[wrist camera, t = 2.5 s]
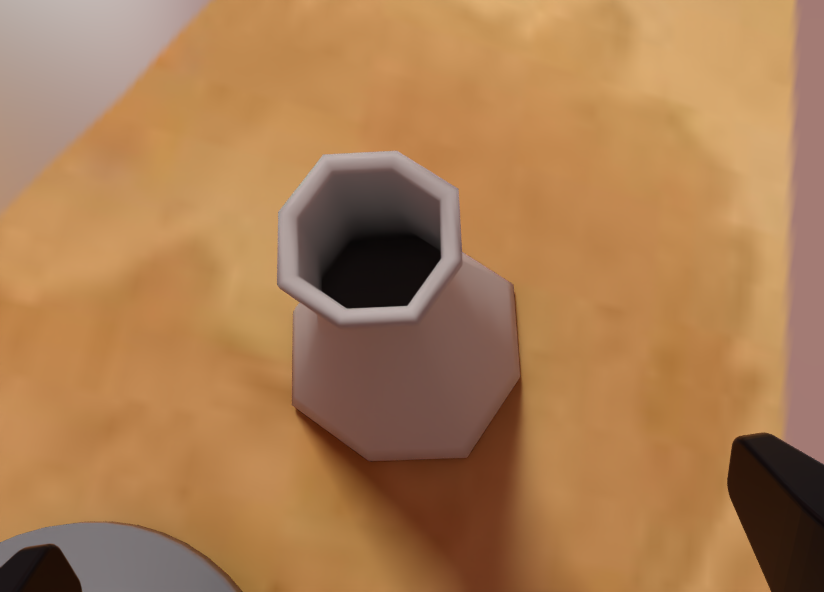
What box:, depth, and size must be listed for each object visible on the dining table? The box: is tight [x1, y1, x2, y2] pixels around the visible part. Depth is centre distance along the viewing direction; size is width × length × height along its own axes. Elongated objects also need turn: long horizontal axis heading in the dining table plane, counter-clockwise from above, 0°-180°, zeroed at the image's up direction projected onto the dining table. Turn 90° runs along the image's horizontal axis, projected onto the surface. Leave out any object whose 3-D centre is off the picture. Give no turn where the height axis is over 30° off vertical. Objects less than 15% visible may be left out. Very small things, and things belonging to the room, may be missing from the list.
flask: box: [277, 151, 520, 461], centre depth 16 cm, size 7×7×10 cm
